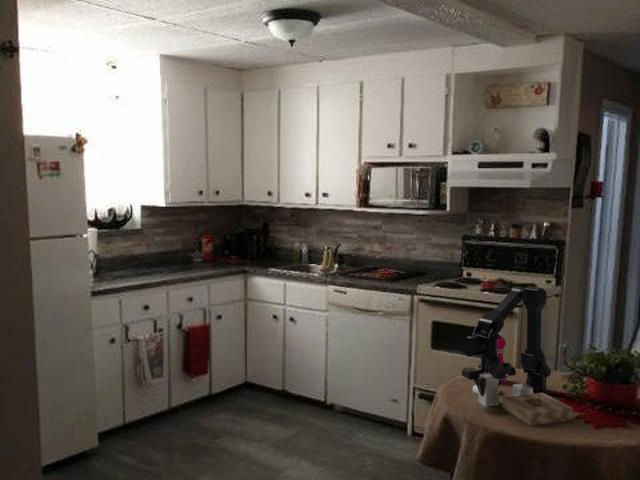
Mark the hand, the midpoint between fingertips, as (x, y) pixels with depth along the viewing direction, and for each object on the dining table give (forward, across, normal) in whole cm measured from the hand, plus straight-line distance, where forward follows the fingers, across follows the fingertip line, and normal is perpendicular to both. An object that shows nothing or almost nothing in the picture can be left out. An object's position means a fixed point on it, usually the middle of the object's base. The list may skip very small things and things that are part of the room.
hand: (488, 395), depth 216 cm
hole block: (+3, +10, -14) cm, 17 cm away
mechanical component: (+4, +6, +12) cm, 14 cm away
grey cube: (+3, +14, 0) cm, 14 cm away
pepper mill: (+3, +17, +21) cm, 27 cm away
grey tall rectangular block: (+3, 0, 0) cm, 3 cm away
